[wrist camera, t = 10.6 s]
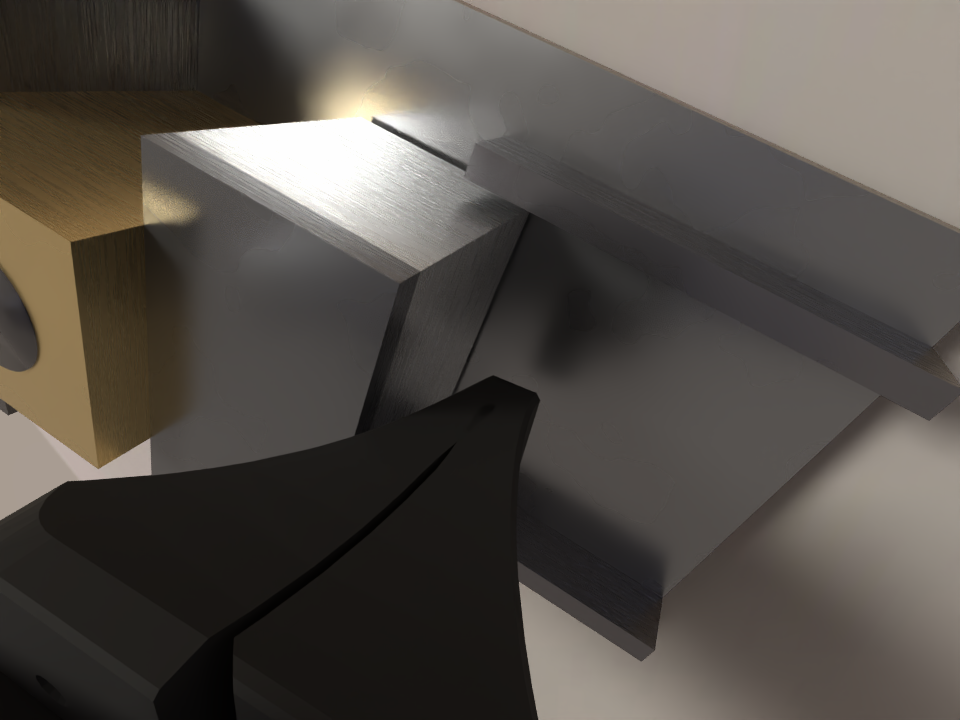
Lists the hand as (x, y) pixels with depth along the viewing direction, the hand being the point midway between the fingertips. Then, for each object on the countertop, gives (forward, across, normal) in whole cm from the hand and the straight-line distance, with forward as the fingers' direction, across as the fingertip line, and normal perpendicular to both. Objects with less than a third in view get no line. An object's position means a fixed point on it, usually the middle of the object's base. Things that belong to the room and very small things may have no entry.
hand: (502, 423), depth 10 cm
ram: (+2, +3, -1) cm, 4 cm away
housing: (+2, +8, -1) cm, 8 cm away
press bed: (+3, +4, -1) cm, 5 cm away
